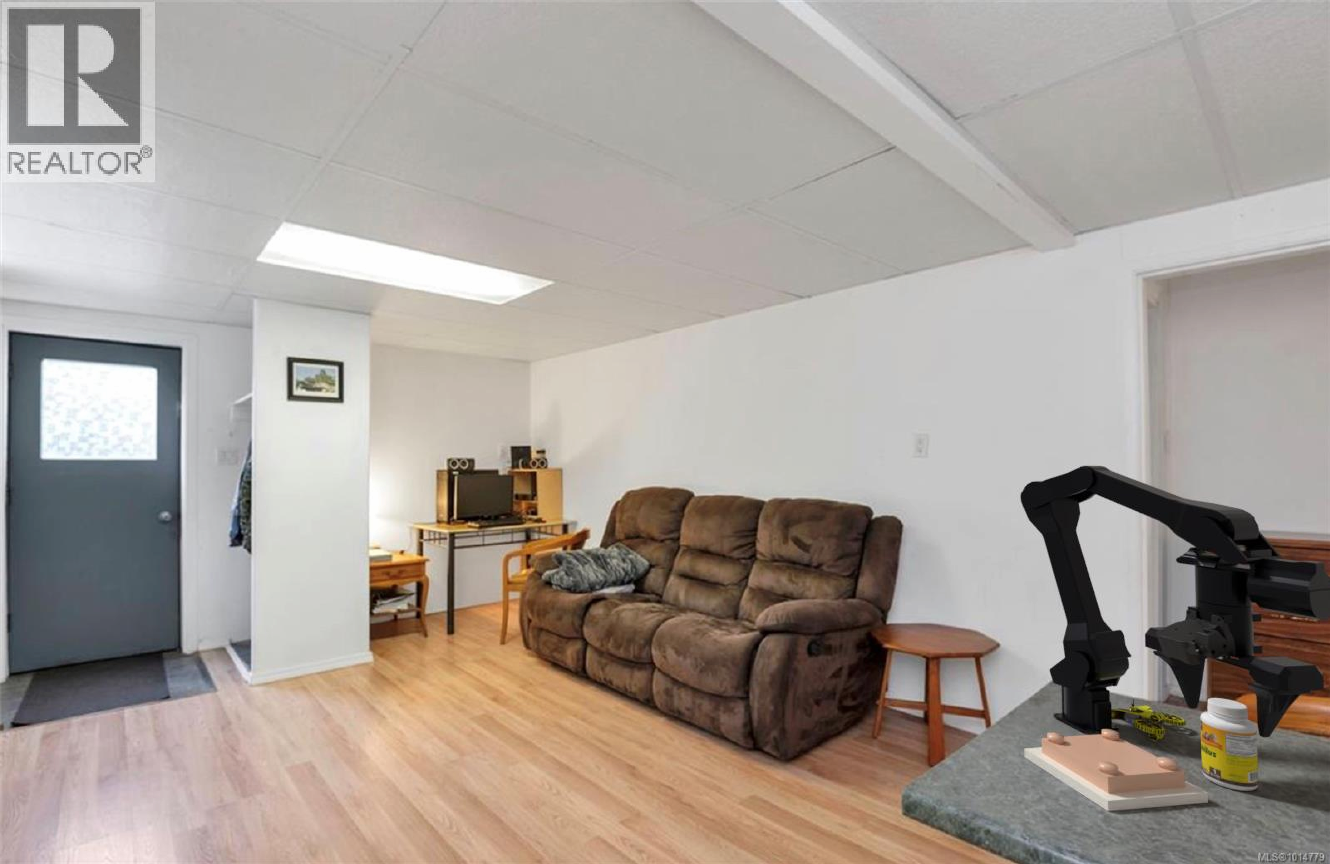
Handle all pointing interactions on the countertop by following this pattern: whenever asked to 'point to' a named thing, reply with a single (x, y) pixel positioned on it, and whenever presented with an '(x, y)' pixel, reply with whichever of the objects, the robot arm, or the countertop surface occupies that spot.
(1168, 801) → the tower base
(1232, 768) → the supplement bottle
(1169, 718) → the toy motorcycle
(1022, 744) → the countertop surface
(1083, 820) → the countertop surface
